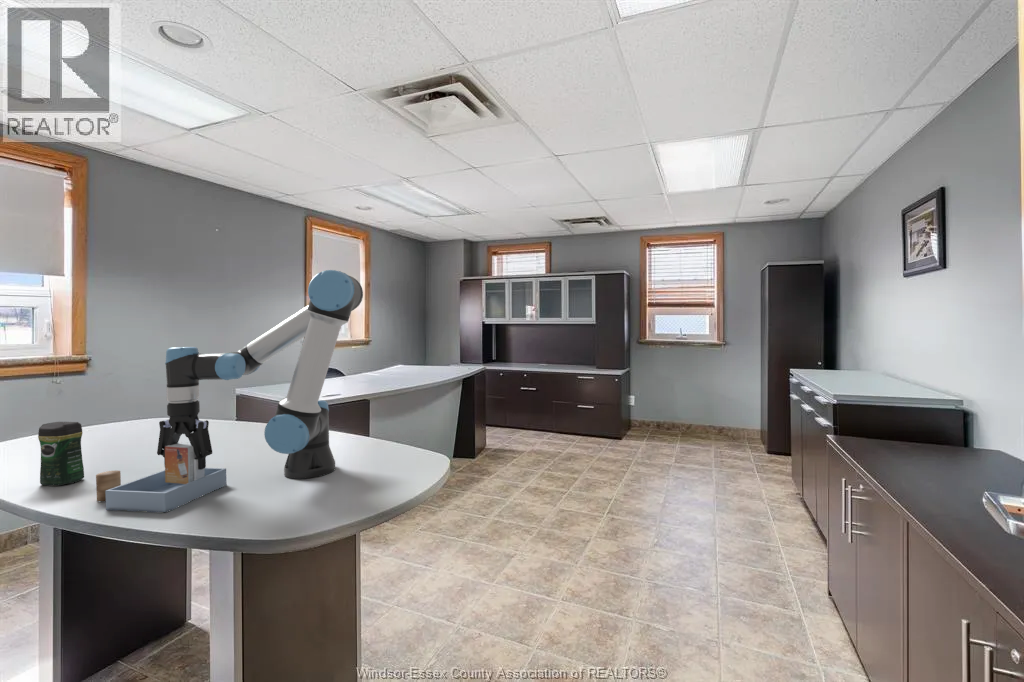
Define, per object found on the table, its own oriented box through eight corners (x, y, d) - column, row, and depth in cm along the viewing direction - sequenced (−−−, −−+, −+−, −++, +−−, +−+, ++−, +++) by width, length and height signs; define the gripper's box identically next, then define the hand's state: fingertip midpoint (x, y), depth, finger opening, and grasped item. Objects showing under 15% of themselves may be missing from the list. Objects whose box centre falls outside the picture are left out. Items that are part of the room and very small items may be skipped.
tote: (226, 485, 134) (226, 468, 133) (165, 513, 114) (164, 493, 113) (174, 483, 136) (174, 466, 136) (106, 509, 116) (105, 490, 116)
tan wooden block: (126, 495, 126) (125, 470, 126) (107, 502, 121) (106, 476, 121) (110, 494, 127) (109, 470, 127) (91, 501, 122) (90, 475, 122)
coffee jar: (90, 478, 141) (88, 419, 141) (62, 487, 133) (60, 424, 133) (62, 477, 142) (60, 419, 142) (33, 486, 134) (31, 424, 134)
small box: (164, 483, 128) (163, 446, 127) (182, 476, 133) (181, 441, 133) (188, 484, 126) (187, 447, 126) (205, 478, 132) (204, 442, 131)
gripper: (226, 399, 131) (228, 476, 132) (162, 398, 134) (164, 474, 135) (205, 403, 124) (207, 485, 125) (138, 402, 127) (141, 482, 127)
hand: (185, 479), depth 130 cm, fingers closed on small box, 8 cm apart
